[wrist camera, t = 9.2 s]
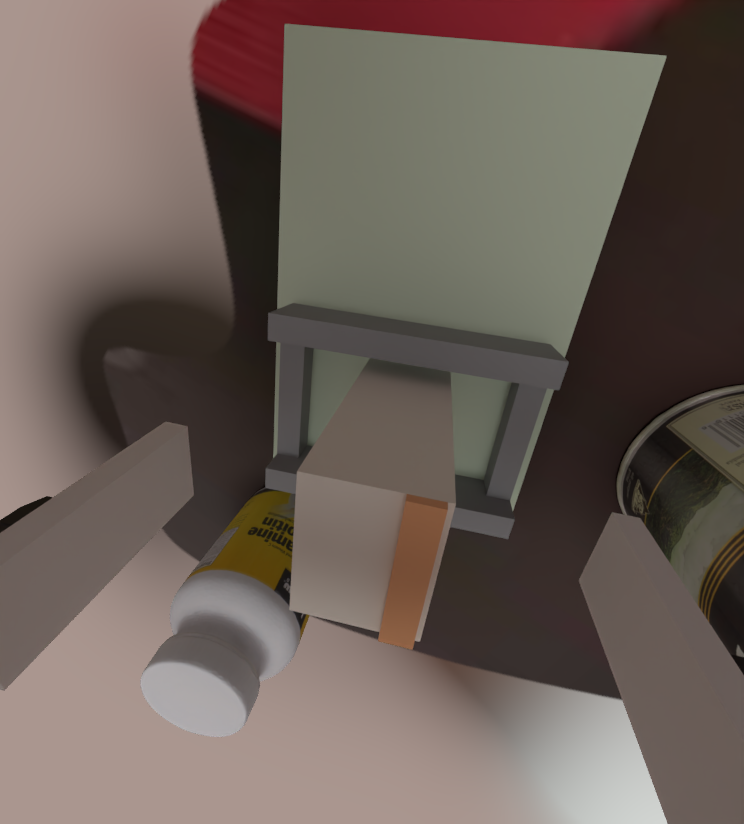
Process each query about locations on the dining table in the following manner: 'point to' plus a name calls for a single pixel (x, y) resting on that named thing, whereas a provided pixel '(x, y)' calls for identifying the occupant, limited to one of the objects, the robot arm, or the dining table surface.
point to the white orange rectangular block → (377, 504)
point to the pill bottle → (230, 623)
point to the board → (444, 231)
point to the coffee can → (696, 501)
